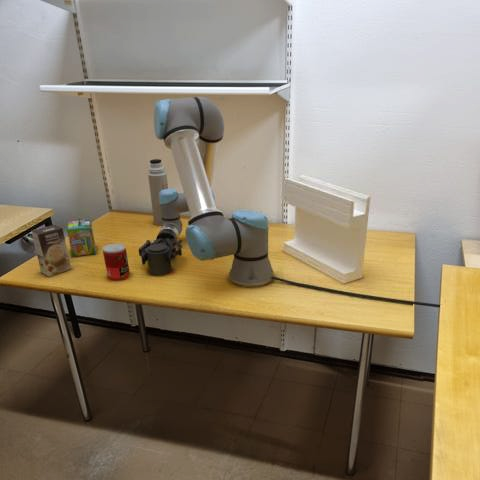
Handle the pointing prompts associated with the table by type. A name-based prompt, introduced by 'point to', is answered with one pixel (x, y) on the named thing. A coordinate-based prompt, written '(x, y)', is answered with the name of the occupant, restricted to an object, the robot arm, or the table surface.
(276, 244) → the table surface
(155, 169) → the thermos bottle
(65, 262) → the coffee box
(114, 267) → the canned food
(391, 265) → the table surface
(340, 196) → the block
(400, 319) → the table surface
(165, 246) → the cap
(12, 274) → the table surface
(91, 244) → the chalk box
